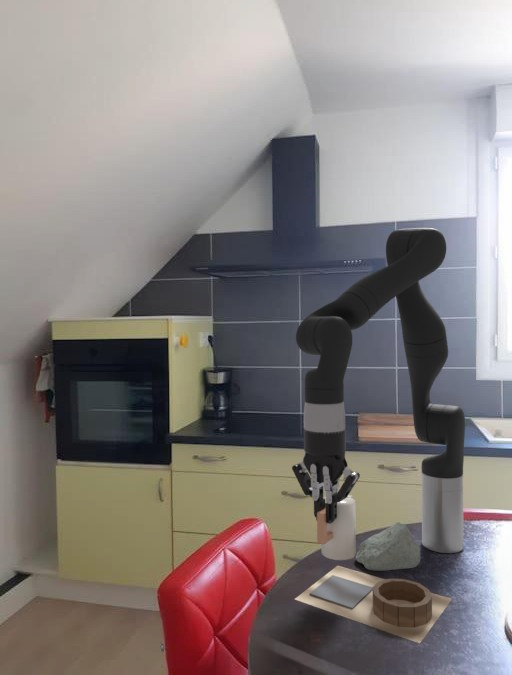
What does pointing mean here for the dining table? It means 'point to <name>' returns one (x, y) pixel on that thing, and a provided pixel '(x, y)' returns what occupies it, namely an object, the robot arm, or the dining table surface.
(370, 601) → the serving board
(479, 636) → the dining table surface
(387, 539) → the decorative stone
